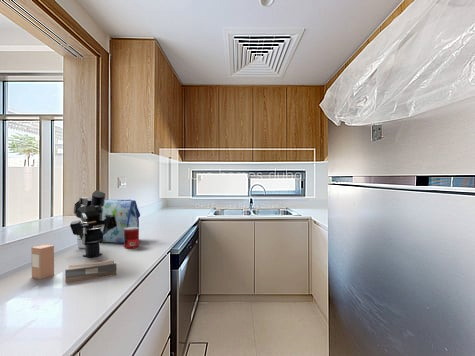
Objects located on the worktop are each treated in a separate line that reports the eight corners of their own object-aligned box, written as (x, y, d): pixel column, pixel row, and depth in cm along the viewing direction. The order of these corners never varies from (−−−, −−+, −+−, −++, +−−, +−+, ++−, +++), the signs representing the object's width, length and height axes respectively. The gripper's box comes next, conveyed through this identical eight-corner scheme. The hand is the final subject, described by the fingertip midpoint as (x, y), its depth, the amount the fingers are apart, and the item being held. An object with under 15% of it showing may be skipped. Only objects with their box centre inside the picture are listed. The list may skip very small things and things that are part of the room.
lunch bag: (141, 238, 191) (141, 198, 191) (128, 244, 175) (127, 200, 175) (110, 237, 195) (110, 198, 195) (94, 243, 179) (94, 200, 179)
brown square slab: (69, 269, 128) (69, 258, 128) (113, 263, 136) (113, 253, 136) (65, 282, 111) (65, 270, 111) (116, 275, 119) (116, 264, 119)
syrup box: (86, 248, 165) (84, 222, 165) (77, 248, 167) (75, 222, 166) (93, 245, 171) (91, 220, 170) (84, 245, 172) (82, 220, 172)
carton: (54, 274, 120) (53, 245, 120) (40, 279, 115) (39, 248, 115) (45, 273, 123) (45, 244, 123) (31, 277, 117) (30, 247, 117)
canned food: (141, 245, 170) (141, 227, 170) (132, 249, 163) (132, 229, 163) (130, 245, 173) (130, 226, 173) (121, 248, 165) (121, 228, 165)
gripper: (69, 205, 134) (63, 225, 121) (112, 197, 139) (111, 217, 126) (76, 224, 140) (71, 246, 127) (117, 216, 145) (116, 236, 132)
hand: (92, 235), depth 128 cm, fingers open, 9 cm apart
